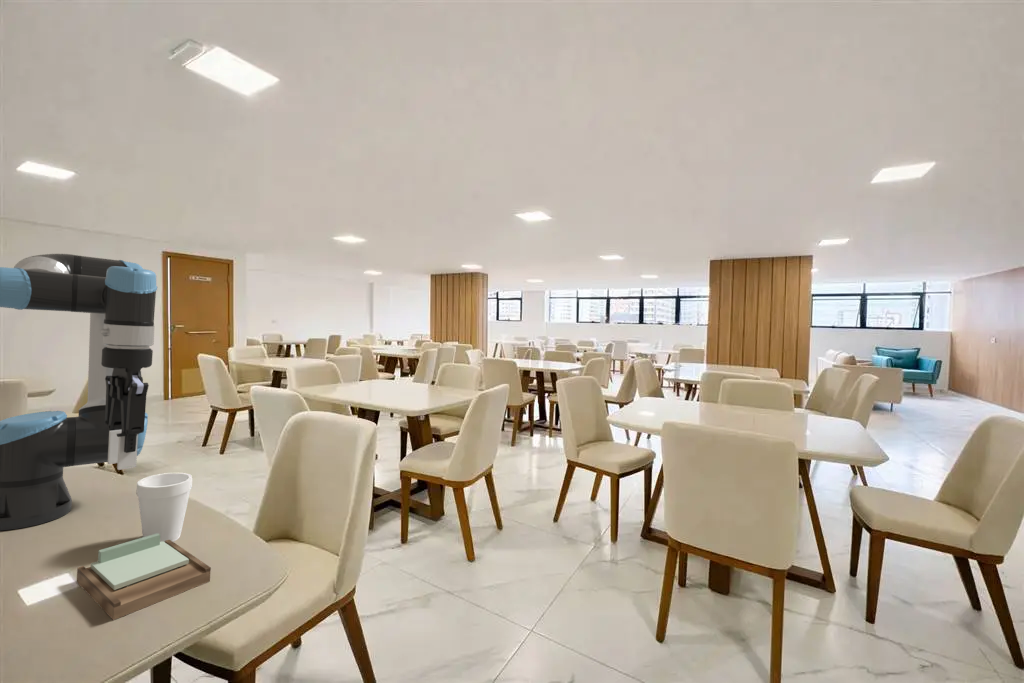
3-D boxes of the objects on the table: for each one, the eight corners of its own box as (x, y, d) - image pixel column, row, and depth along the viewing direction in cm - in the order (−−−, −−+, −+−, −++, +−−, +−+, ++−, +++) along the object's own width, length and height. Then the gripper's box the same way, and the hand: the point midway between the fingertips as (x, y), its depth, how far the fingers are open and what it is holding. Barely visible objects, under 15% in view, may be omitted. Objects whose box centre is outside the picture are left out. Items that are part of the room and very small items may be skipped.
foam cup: (132, 536, 97) (135, 477, 96) (184, 525, 103) (187, 470, 103) (136, 554, 90) (140, 490, 90) (192, 541, 96) (195, 482, 96)
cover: (90, 567, 80) (91, 552, 80) (162, 545, 90) (163, 531, 90) (114, 590, 75) (115, 573, 75) (188, 563, 84) (189, 548, 84)
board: (76, 581, 80) (77, 567, 80) (168, 551, 92) (169, 539, 92) (113, 620, 71) (114, 604, 71) (209, 581, 83) (210, 567, 83)
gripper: (86, 343, 88) (80, 459, 89) (121, 350, 79) (114, 480, 80) (134, 343, 95) (128, 452, 95) (170, 350, 86) (163, 470, 86)
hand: (121, 464), depth 88 cm, fingers open, 4 cm apart
